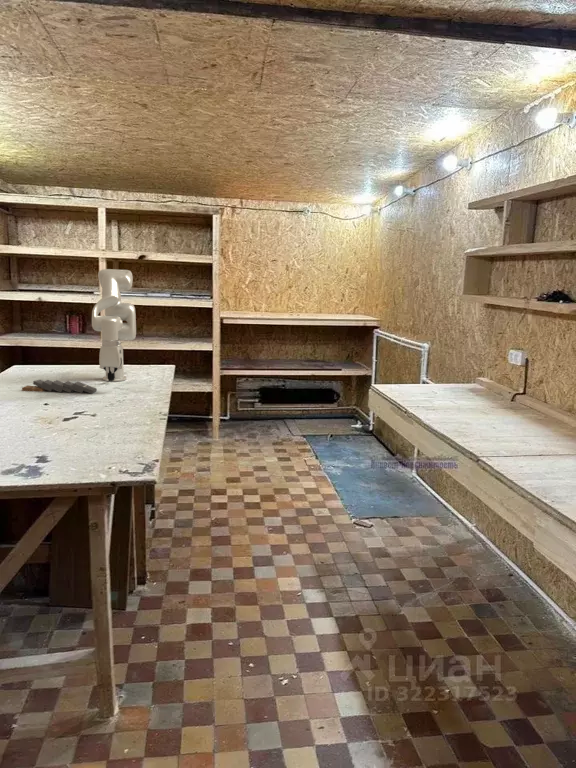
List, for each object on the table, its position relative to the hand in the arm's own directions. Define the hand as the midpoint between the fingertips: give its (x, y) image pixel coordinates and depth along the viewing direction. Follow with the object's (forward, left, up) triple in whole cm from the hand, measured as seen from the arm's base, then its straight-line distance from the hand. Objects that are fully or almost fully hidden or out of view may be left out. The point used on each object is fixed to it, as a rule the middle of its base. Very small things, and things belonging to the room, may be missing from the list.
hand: (111, 380), depth 251 cm
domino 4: (+1, -19, -6) cm, 19 cm away
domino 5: (0, -13, -6) cm, 14 cm away
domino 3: (0, -23, -6) cm, 24 cm away
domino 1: (0, -33, -6) cm, 33 cm away
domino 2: (0, -28, -5) cm, 29 cm away
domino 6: (+1, -8, -6) cm, 10 cm away
